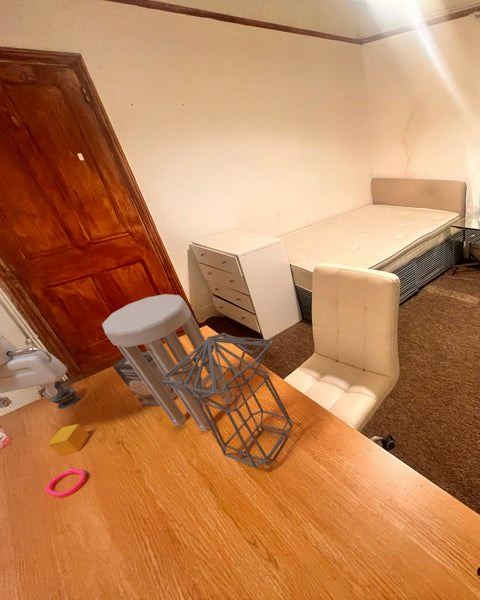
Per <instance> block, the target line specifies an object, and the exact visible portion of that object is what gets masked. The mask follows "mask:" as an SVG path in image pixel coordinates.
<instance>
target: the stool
mask: <svg viewBox="0 0 480 600" xmlns="http://www.w3.org/2000/svg"><path fill="white" fill-rule="evenodd" d="M101 325H102V329H103V331H104V334H105V336H106V337H107V338H108V340H109V341H110V343H111V344H112V345H113V346H116V347H117V348H118V349H119V351H120V353H121V354H122V355H123V357H125V358H126V359H127V360H128V362H129V363H130V365H131V366H132V367H133V369H134V370H135V371H136V373H137V374H138V376H139V377H140V378H141V380H142V381H143V383H144V384H145V385H146V387H147V388H148V389H149V391H150V392H151V394H152V395H153V396H154V398H155V399H156V401H157V402H158V403H159V405H160V406H159V407H161V409H162V410H163V412H164V413H165V414H166V416H167V417H168V419H169V420H170V421H171V423H172V425H174V426H177V427H182V426H183V424H185V423H186V421H187V420H188V419H187V418H186V416H185V414H184V413H183V412H182V410H181V408H180V407H179V405H178V404H177V403H176V400H175V399H174V398H175V397H176V398H177V397H178V399H179V400H180V402H181V403H182V405H183V406H184V408H185V410H186V411H187V412H188V414H189V415H190V417H191V418H192V420H193V421H194V424H196V427H197V428H198V429H199V431H200V432H201V431H202V432H205V433H208V432H209V431H211V429H210V427H209V425H208V423H207V421H206V419H205V417H204V415H203V413H202V411H201V409H200V408H199V406H198V404H197V401H196V399H195V398H194V397H193V396H191V395H189V394H186V393H184V392H182V391H180V390H178V389H176V388H174V387H172V386H169V385H167V384H166V385H165V386H164V385H163V383H162V382H161V381H160V379H159V378H158V376H157V375H156V373H155V372H154V370H153V369H152V367H151V366H150V364H149V363H148V361H147V360H146V358H145V357H144V355H143V354H142V353H141V352H142V351H141V350H140V348H139V347H138V346H140V345H143V346H144V348H145V349H146V351H147V352H149V353H150V355H151V356H152V358H153V359H154V361H155V362H156V364H157V365H158V367H159V369H160V370H161V372H162V373H163V375H165V374H166V373H168V372H169V371H170V370H171V369H172V368H174V367H175V366H176V365H177V364H178V363H180V362H181V361H182V360H183V359H184V358H186V357H187V356H188V355H189V354H188V352H187V350H186V348H185V347H184V345H183V343H182V341H181V340H180V338H179V336H178V334H177V332H176V331H177V330H178V329H180V328H182V330H183V332H184V334H185V335H186V337H187V339H188V341H189V343H190V345H191V346H192V348H193V351H194V350H195V349H196V348H197V347H198V346H199V345H200V344H202V343H203V342H204V341H205V340H206V337H205V336H204V334H203V332H202V331H201V328H200V327H199V325H198V323H197V320H196V318H195V317H194V315H193V313H192V311H191V310H190V307H189V305H188V304H187V302H186V301H185V300H184V298H183V297H182V296H181V295H179V294H170V293H168V294H167V293H164V294H158V295H153V296H148V297H144V298H142V299H139V300H136V301H133V302H131V303H128V304H127V305H124V306H122V307H121V308H119V309H118V310H116V311H113V312H112V313H111V314H110V315H109V316H108V317H107V318H106V319H105V320H104V321H103V322H102V324H101ZM162 340H163V341H164V343H165V344H164V343H163V341H162ZM166 346H167V347H166ZM167 348H168V349H167ZM168 350H169V351H170V352H169V351H168ZM207 351H208V349H207ZM170 353H171V354H170ZM199 354H200V353H199ZM199 354H198V356H199ZM172 356H173V357H172ZM198 356H197V357H198ZM208 356H209V354H208ZM173 358H174V359H173ZM190 359H191V358H189V359H188V360H187V361H189V360H190ZM201 360H202V357H201V359H200V361H201ZM207 360H208V359H207V356H206V357H205V361H204V363H205V362H207ZM187 361H186V362H187ZM213 362H214V363H215V364H218V360H217V358H215V356H214V355H213ZM176 363H177V364H176ZM194 364H195V363H194V361H192V362H190V363H189V364H187V365H186V366H184V367H182V368H181V369H179V370H178V371H176V372H180V371H184V370H189V369H192V368H193V366H194ZM218 365H219V364H218ZM203 369H204V370H205V371H206V373H207V375H206V376H205V377H204V378H202V376H201V377H200V379H201V386H202V389H203V390H205V389H207V388H208V386H207V385H208V383H210V382H211V373H210V363H208V364H207V365H205V366H204V367H203ZM214 369H215V377H216V380H217V379H218V378H219V377H220V376H221V371H220V367H219V366H217V365H214ZM189 374H190V372H187V373H182V374H178V375H173V376H171V377H170V378H169V379H168V380H171V381H178V382H183V383H185V382H186V380H187V378H188V376H189ZM185 377H186V378H185ZM166 378H167V377H166ZM224 378H225V382H226V384H227V383H228V381H227V379H226V376H224ZM196 379H197V370H196V371H194V373H193V375H192V377H191V379H190V381H189V383H188V385H190V386H192V387H195V383H196ZM175 385H177V386H179V387H181V388H183V389H185V390H186V388H185V387H184V386H183V385H178V384H175ZM216 385H217V392H220V391H222V388H223V387H224V382H223V378H222V377H221V378H220V379H219V380H218V381H217V382H216ZM228 387H231V385H229V386H228ZM171 388H173V390H174V391H173V392H172V393H170V394H169V392H168V390H169V389H171ZM198 389H199V384H198ZM189 390H190V391H191V392H192V393H195V392H194V391H193V390H191V389H189ZM232 390H233V389H230V390H228V391H226V392H223V393H220V394H218V395H219V397H220V398H221V400H222V403H223V404H226V405H230V406H231V405H233V403H234V402H235V401H236V400H237V399H236V396H235V394H234V392H233V391H232ZM208 391H212V386H211V387H210V388H209V389H208ZM199 393H200V392H199ZM195 394H196V393H195ZM205 394H207V393H204V394H203V395H205ZM196 398H197V399H198V398H199V397H196ZM173 399H174V400H173ZM204 399H205V398H204ZM200 401H201V402H202V400H200ZM205 401H207V400H206V399H205ZM207 416H208V418H209V420H210V422H211V424H212V426H213V427H214V425H213V423H212V421H211V419H210V416H209V414H207Z"/></svg>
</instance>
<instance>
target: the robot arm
mask: <svg viewBox="0 0 480 600" xmlns="http://www.w3.org/2000/svg"><path fill="white" fill-rule="evenodd" d="M67 371H68V368H67V366H66V365H65V364H64V363H63V362H62V361H60V359H58V358H57V357H56V356H55V355H53V354H52V353H50V352H48V350H46V349H44V348H38V347H36V346H31V347H26V348H21V349H17V347H16V346H15V345H14V344H13V343H12V342H11V341H10V340H9V338H8V337H7V336H5V335H4V334H3V332H1V331H0V394H5V393H9V392H14V391H19V390H23V389H29V388H34V387H38V386H39V387H40V388H41V389H44V391H43V392H42V393H41V395H43V396H44V398H46V399H49V398H50V397H54V396H56V394H57V393H58V390H57V389H56V388H55V382H57V381H61V379H62V378H63V377H64V376H65V375H66V374H67ZM11 404H12V400H11V399H10V398H9V397H8V396H1V395H0V409H4V408H8V407H9V406H10V405H11Z"/></svg>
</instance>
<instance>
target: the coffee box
mask: <svg viewBox="0 0 480 600" xmlns="http://www.w3.org/2000/svg"><path fill="white" fill-rule="evenodd" d="M141 353H142V354H143V355H144V357H145V358H146V360H147V361H148V363H149V364H150V366H151V367H152V369H153V370H154V372H155V373H156V375H157V376H158V378H159V379H160V381H161V382H162V383H163V380H164V375H163V373H162V372H161V370H160V369H159V367H158V365H157V364H156V362H155V361H154V359H153V358H152V356H151V355H150V353H149V352H148V351H141ZM112 368H113V369H114V371H115V372H116V373H117V374H118V376H119V377H120V379H122V381H123V382H124V384H125V385H126V387H127V389H128V390H129V391H130V392H131V394H133V396H134V397H135V399H136V400H137V401H138V402H139V404H140V405H141V406H149V407H150V406H151V407H152V406H153V407H161V406H160V405H159V403H158V402H157V401H156V399H155V398H154V396H153V395H152V394H151V392H150V391H149V389H148V388H147V387H146V385H145V384H144V383H143V381H142V380H141V378H140V377H139V376H138V374H137V373H136V371H135V370H134V369H133V367H132V366H131V365H130V363H129V362H128V360H127V359H126V358H125V356H123V357H122V358H120V359H119V360H118V361H117V362H116V363H115V364H113V366H112ZM163 385H164V386H165V385H166V384H165V383H163ZM173 391H174V390H173V388H171V389H169V390H168V392H169V394H170V393H172V392H173ZM175 398H177V396H176V397H175ZM175 398H174V399H173V400H174V401H175Z"/></svg>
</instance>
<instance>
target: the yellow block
mask: <svg viewBox="0 0 480 600" xmlns="http://www.w3.org/2000/svg"><path fill="white" fill-rule="evenodd" d="M89 437H90V434H89V433H88V432H87V431H86V429H84V428H83V426H81V425H80V423H76V424H72V425H68V426H63V427H60V428H59V430H58V431H57V432H56V434H55V435H54V436H53V438H52V439H51V440H50V441H49V442H48V444H47V445H48V446H50V448H52V449H53V450H54V451H55V452H56V453H57V454H58V455H60V456H61V457H62V456H66V455H71V454H75V453H78V452H80V450H81V449H82V447H83V446H84V444H85V443H86V442H87V440H88V439H89Z"/></svg>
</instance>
